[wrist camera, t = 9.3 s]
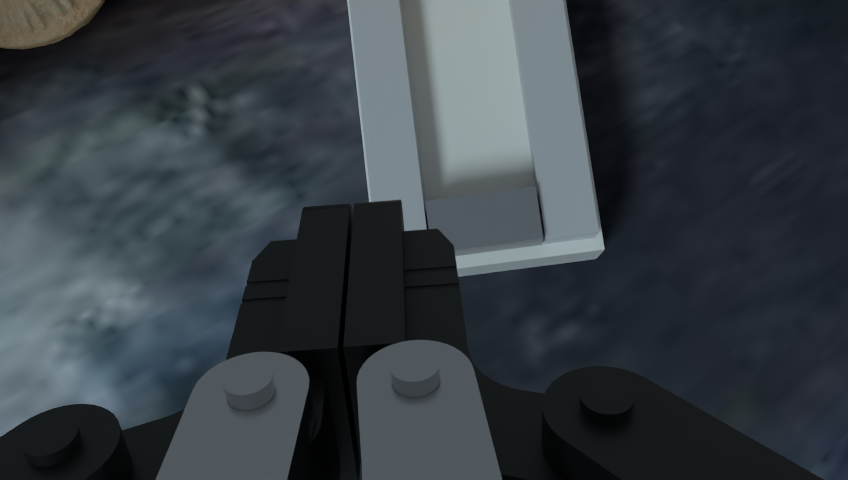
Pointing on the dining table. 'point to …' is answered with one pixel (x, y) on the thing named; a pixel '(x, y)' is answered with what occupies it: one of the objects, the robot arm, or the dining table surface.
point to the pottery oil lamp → (42, 21)
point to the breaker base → (478, 127)
